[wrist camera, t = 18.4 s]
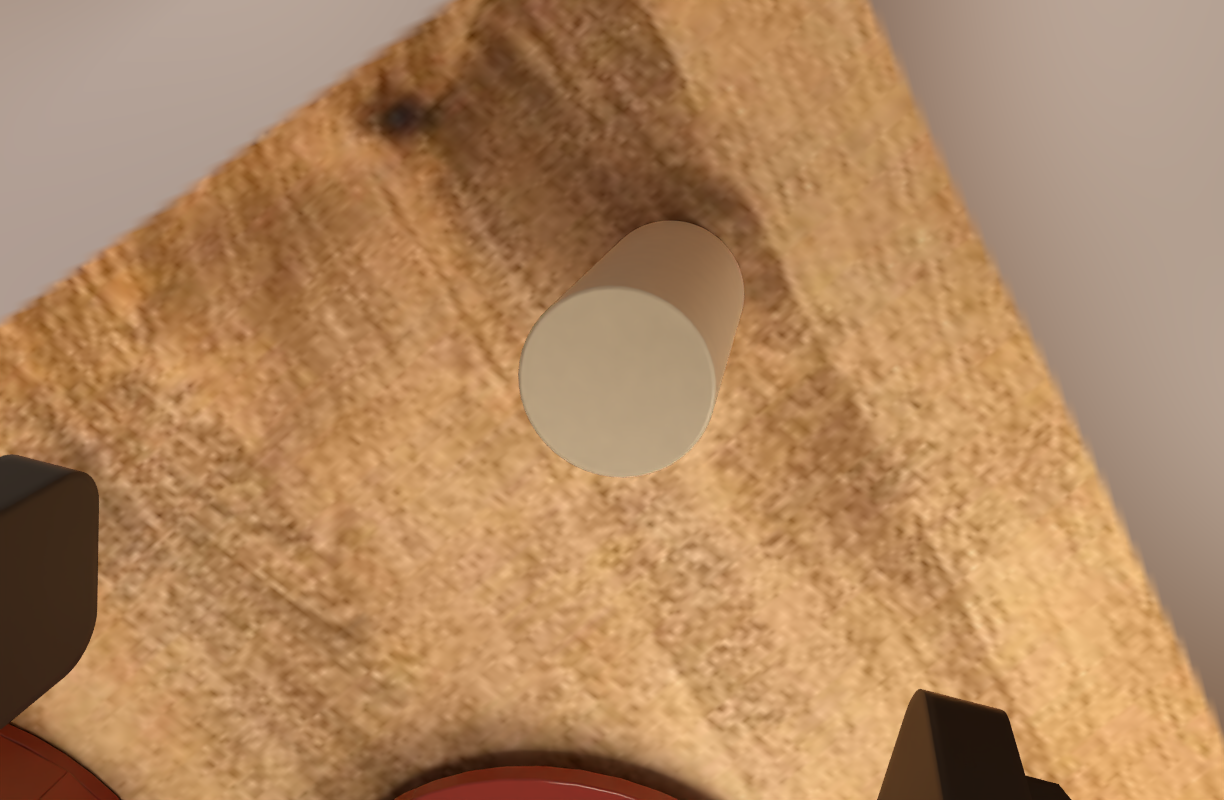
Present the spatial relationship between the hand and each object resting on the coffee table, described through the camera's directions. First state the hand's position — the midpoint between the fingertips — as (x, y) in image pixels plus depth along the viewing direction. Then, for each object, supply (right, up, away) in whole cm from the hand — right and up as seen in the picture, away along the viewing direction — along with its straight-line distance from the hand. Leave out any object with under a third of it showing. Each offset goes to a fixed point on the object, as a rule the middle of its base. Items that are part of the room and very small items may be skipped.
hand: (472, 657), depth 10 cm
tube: (+3, +5, +13) cm, 14 cm away
